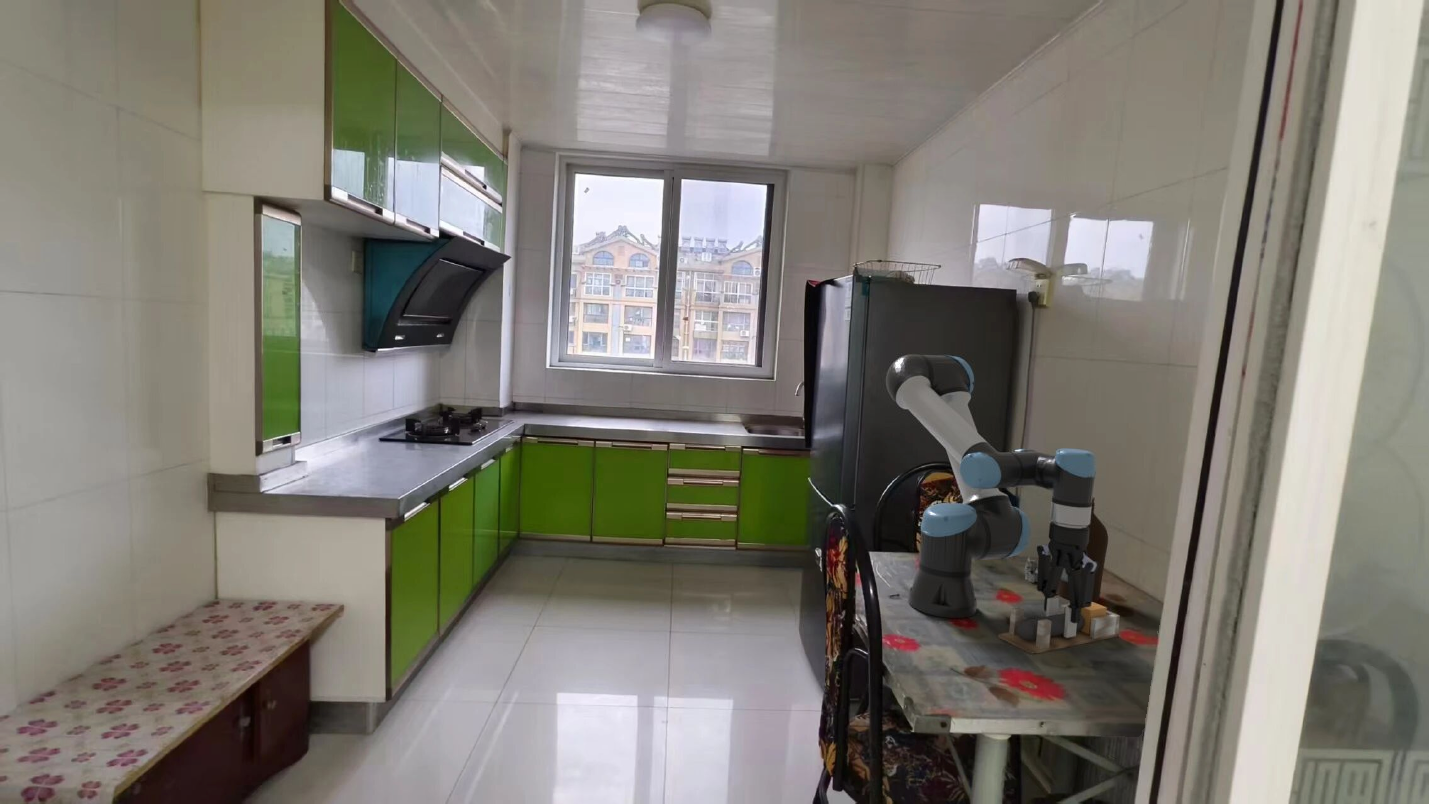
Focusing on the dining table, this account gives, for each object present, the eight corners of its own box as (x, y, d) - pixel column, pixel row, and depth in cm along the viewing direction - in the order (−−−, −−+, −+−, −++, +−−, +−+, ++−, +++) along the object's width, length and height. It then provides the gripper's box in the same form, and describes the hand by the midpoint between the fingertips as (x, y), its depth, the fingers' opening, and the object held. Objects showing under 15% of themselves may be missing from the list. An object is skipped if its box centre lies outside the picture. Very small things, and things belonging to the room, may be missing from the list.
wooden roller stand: (1031, 654, 143) (1034, 625, 143) (997, 637, 151) (1000, 609, 151) (1118, 636, 155) (1121, 609, 154) (1083, 620, 162) (1085, 595, 162)
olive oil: (1078, 587, 185) (1087, 491, 182) (1112, 602, 175) (1122, 501, 172) (1044, 589, 182) (1053, 492, 179) (1077, 605, 172) (1087, 502, 169)
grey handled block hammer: (1029, 646, 145) (1031, 621, 145) (1009, 636, 150) (1011, 612, 149) (1104, 630, 155) (1106, 607, 154) (1083, 622, 159) (1085, 599, 159)
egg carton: (1026, 570, 197) (1027, 556, 197) (1056, 576, 194) (1057, 561, 194) (1022, 581, 188) (1023, 566, 188) (1053, 587, 185) (1055, 571, 184)
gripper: (1119, 532, 144) (1108, 645, 147) (1048, 512, 160) (1039, 614, 162) (1094, 535, 141) (1083, 651, 143) (1023, 514, 157) (1014, 619, 159)
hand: (1060, 631), depth 153 cm, fingers closed on grey handled block hammer, 4 cm apart
